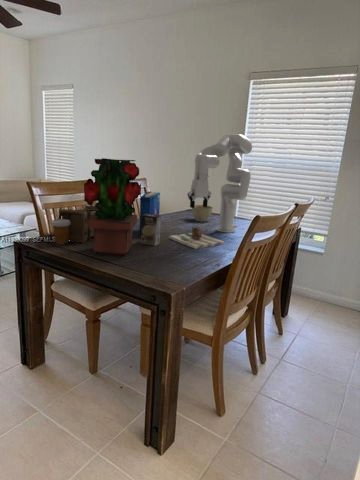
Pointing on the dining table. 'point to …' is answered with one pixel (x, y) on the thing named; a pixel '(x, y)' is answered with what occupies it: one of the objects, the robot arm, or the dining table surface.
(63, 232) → the disposable coffee cup
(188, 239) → the dial plate
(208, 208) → the planter bowl
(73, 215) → the ornamental box
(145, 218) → the coffee box
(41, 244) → the dining table surface
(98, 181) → the potted plant
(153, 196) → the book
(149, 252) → the dining table surface
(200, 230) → the dial pointer knob
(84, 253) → the dining table surface
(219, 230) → the robot arm
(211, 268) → the dining table surface
